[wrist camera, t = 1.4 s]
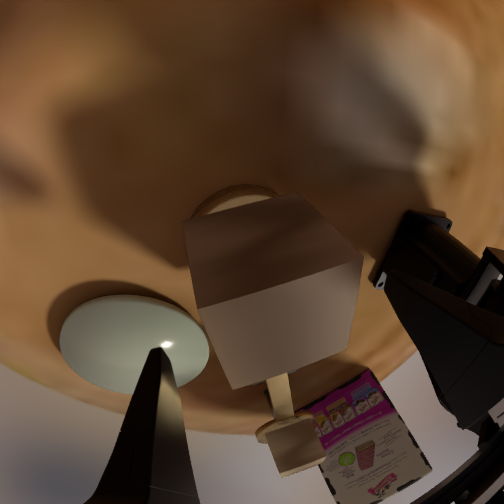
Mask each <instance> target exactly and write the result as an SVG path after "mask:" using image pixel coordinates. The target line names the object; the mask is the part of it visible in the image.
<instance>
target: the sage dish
mask: <svg viewBox="0 0 504 504" xmlns="http://www.w3.org/2000/svg"><path fill="white" fill-rule="evenodd" d="M59 344H60V350H61V353H62V355H63V357H64V359H65V361H66V362H67V364H68V365H69V366H70V367H71V368H72V369H73V370H74V371H75V372H76V373H77V374H78V375H79V376H81V377H82V378H84V379H85V380H87V381H88V382H90V383H92V384H94V385H96V386H99V387H101V388H104V389H107V390H110V391H114V392H119V393H125V394H133V393H134V390H135V387H136V385H137V382H138V379H139V377H140V374H141V372H142V369H143V366H144V364H145V361H146V359H147V356H148V354H149V351H150V350H151V349H152V348H157V347H162V348H163V350H164V351H165V353H166V354H167V356H168V357H169V359H170V361H171V364H172V368H173V373H174V377H175V381H176V385H177V388H178V387H181V386H183V385H185V384H187V383H188V382H190V381H192V380H193V379H194V378H195V377H197V376H198V375H199V374H200V373H201V372H202V370H203V369H204V367H205V366H206V364H207V361H208V358H209V347H208V342H207V337H206V335H205V332H204V330H203V329H202V327H201V326H200V324H199V323H198V322H197V321H196V320H195V319H194V318H193V317H192V316H190V315H189V314H188V313H186V312H185V311H183V310H182V309H180V308H178V307H176V306H174V305H172V304H170V303H167V302H164V301H161V300H158V299H154V298H150V297H145V296H138V295H110V296H103V297H99V298H95V299H92V300H90V301H87V302H85V303H83V304H81V305H79V306H78V307H76V308H75V309H74V310H73V311H72V312H70V314H69V315H68V316H67V317H66V319H65V321H64V323H63V326H62V329H61V334H60V342H59Z"/></svg>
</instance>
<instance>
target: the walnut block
mask: <svg viewBox="0 0 504 504" xmlns="http://www.w3.org/2000/svg"><path fill="white" fill-rule="evenodd" d="M182 224H183V230H184V237H185V243H186V249H187V255H188V261H189V267H190V273H191V278H192V284H193V289H194V294H195V300H196V305H197V310H198V312H199V314H200V317H201V319H202V322H203V324H204V327H205V329H206V331H207V334H208V336H209V338H210V341H211V343H212V345H213V348H214V350H215V352H216V355H217V357H218V359H219V361H220V364H221V366H222V368H223V370H224V372H225V375H226V377H227V379H228V381H229V383H230V385H231V387H232V390H234V389H237V388H241V387H244V386H248V385H251V384H254V383H257V382H261V381H264V380H267V379H270V378H273V377H276V376H279V375H282V374H285V373H287V372H290V371H293V370H296V369H298V368H301V367H304V366H306V365H309V364H312V363H314V362H317V361H319V360H322V359H324V358H327V357H329V356H332V355H334V354H336V353H339V352H341V351H343V350H346V349H347V345H348V340H349V336H350V331H351V327H352V322H353V317H354V312H355V307H356V301H357V296H358V290H359V284H360V278H361V272H362V265H363V258H364V257H363V256H362V255H361V254H360V253H359V252H358V251H357V250H356V249H355V248H354V247H353V245H352V244H351V243H350V242H349V241H348V240H347V239H346V238H345V237H344V236H343V235H342V234H341V233H340V232H339V231H338V230H337V229H336V228H335V227H333V226H332V225H331V224H330V223H329V222H328V221H327V220H326V219H325V218H324V217H323V216H322V215H321V214H320V213H319V212H318V211H317V210H316V209H315V208H314V207H313V206H312V205H311V204H309V203H308V202H307V201H306V200H305V199H304V198H303V197H302V196H301V195H300V194H299V193H298V192H294V193H290V194H286V195H281V196H277V197H273V198H269V199H265V200H261V201H257V202H253V203H249V204H245V205H241V206H237V207H233V208H229V209H226V210H222V211H218V212H214V213H211V214H207V215H203V216H200V217H196V218H193V219H189V220H185V221H182Z"/></svg>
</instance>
